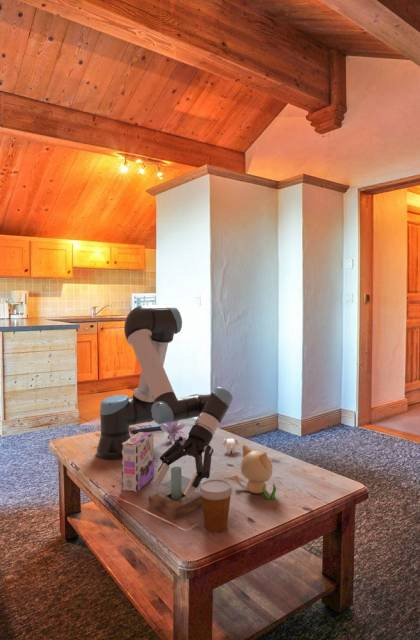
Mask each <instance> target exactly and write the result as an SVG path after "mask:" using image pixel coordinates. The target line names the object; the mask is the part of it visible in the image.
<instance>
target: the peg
mask: <svg viewBox="0 0 420 640" xmlns="http://www.w3.org/2000/svg"><path fill="white" fill-rule="evenodd" d="M181 476H182V467H180V466H173V467H171V468H170V480H171V499H173V500H175V501H177V500H179V499H181V498H182V480H181Z"/></svg>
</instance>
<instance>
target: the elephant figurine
mask: <svg viewBox="0 0 420 640" xmlns="http://www.w3.org/2000/svg"><path fill="white" fill-rule="evenodd" d="M239 444H240V441H239V440H238V438H237V437H235V438H226V437H224V439H223V441H222V445H223V446H226V453H227V454H228V455H234V454H236V446H239Z"/></svg>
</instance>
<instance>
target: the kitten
mask: <svg viewBox="0 0 420 640" xmlns="http://www.w3.org/2000/svg"><path fill="white" fill-rule="evenodd" d="M240 471H241V474H242V476H243V477H244V478H245V479H246V480H248V481H247V482H246V484H245V483H244V482H242V480H241V479H240V477H239V476H238V474H233V475H232V480H233V481H234V482H235V484H237V485H238V486H239V487H240V488H242V489H243V490H246V491H248V492H249V493H252V494H257V495H258V494H262V493H263V494H264V495H265V498H266V500H273V499H275V498H276V492H277V488H276V485H275V484H274V483H272V486H273V489H272V492H271V493H270V495H269V494H268V493H267V492H266V490H267V488H268V487H267V484H266V482H269V481H270V480H271V478H272V476H273V464H272V461H271V459H270V458H269V456H268V454H267V452H266V451H260V450H252V449H251V448H250V447H249V446H248V445H246V444H243V445H242V459H241V463H240Z"/></svg>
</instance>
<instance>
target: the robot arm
mask: <svg viewBox="0 0 420 640" xmlns="http://www.w3.org/2000/svg"><path fill="white" fill-rule="evenodd" d="M182 319H183V318H182V315H181V312H180V310H179V309H178V308H177V307H176V306H175V305H167V304H162V305H161V304H159V305H139V306H137V307H134V308H133V309H131V310H130V312H129V313H128V315H126V317H125V320H124V326H123V327H124V328H123V330H124V331H123V332H124V336H125V340H126V341H127V344H128V345H131V347H132V349H133V351H134V354H135V356H136V359H137V362H138V364H139V366H140V369H141V371H140V376H139V381H138V385H137V387H136V388H135V389H134V390H133V393H132V396H131V397H129V395H127V394H119V395H118V394H114V395H110V396H108V397H106V398H104V399H103V400H102V401H101V403H100V407H99V414H100V417H99V418H100V420H99V421H100V436H99V437H100V438H99V440H98V444H97V447H96V456H97V457H98V458H101V459H105V460H119V459H122V443H124V442H125V441H127V440H128V439H130V438H131V437H132V436H131V435H130V426H135V425H139V424H140V425H141V424H144V423H145V424H146V423H151V422H155V423H156V424H157V425H158V424H159V425H166V423H171V422H174V421H178V422H179V421H183V420H189V419H194V418H196V417H197V418H196V420H195V421H194V425H192V426H191V428H190V431H189V432H188V436H187V437H188V438H187V439H186V438H182V437H179V439H177V440H176V441H175V443H174V444H172V445H171V446H170V447H169V448H168V449H167V450H166V451H165V452H164V453H163V454H161V455H160V457H159V460H160V461H161V465H160V466H159V468H158V469H157V473H156V476H154V478H153V480H152V481H153V483H154V484H155V485H157V486H159V487H160V486H161V484H162V482H163V480H164V478H165V476H166V475H167V473H168V471H169V469H171V468H170V465H172V464H174V463H175V462H177V461H178V460H180V459H181V458H182V457H186V456H189V457H192V458H194V460H195V461H194V462H195V469H196V470H195V471H196V472H195V473H193V474H192V477H191V478H190V479H191V481H190V482H189V484H188V486H187V488H186V490H185V492H184V495H185V496H186V497H187V498H189V499H190V497H191V495H192V494H193V492H194V490H195V488H197V487H198V486H199V484H200V483H202V480H203V479H207V480H209V478H210V477H211V476H210V475H211V465H212V456H213V454H214V448H213V447H212V446H211V445H210V444H211V442H212V440H213V438H214V435H215V434H216V431H218V428H219V426H220V425H221V422H222V421H223V419H224V417H225V415H226V414H227V412H228V410H229V408H230V407H231V404H232V402H233V399H234V397H233V395H232V393H231V392H230V391H229V390H228V389H226V388H224V387H221V386H215V387H214V388H213V390H212V391H211V393H210V394H198V393H195V394H190V395H188V396H183V397H179V398H178V397H177V396H176V394H175V391H174V389H173V386H172V384H171V381H170V379H169V377H168V375H167V373H166V370H165V368H164V367H165V366H164V364H165V360H166V356H167V351H168V346H169V344H170V343H172V342H173V340H174V337H175V336H174V335H177V334H179V333H180V332H181V330H182V328H183V320H182ZM195 491H196V490H195Z"/></svg>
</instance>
